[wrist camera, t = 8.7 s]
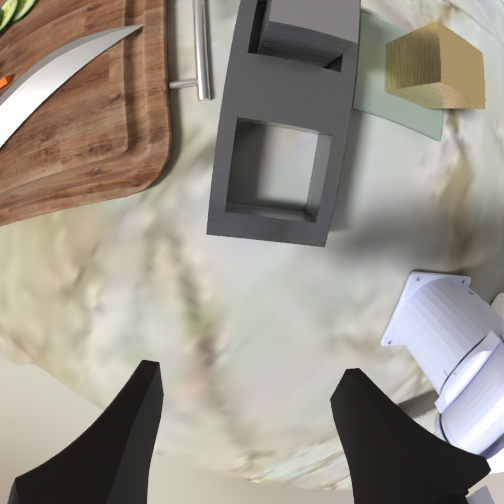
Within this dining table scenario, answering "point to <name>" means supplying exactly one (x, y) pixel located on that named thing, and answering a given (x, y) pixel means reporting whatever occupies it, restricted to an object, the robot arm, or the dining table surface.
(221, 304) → the dining table surface
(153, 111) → the chopping board
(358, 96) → the mat
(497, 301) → the bust
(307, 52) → the gray metal block
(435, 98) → the tan wooden block
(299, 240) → the gray slotted board
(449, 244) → the dining table surface
